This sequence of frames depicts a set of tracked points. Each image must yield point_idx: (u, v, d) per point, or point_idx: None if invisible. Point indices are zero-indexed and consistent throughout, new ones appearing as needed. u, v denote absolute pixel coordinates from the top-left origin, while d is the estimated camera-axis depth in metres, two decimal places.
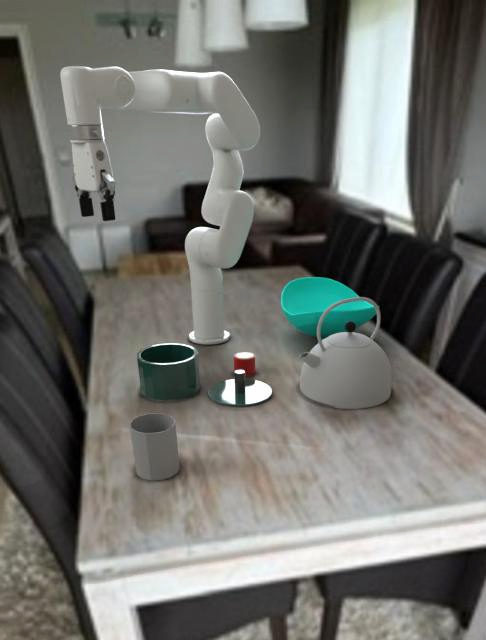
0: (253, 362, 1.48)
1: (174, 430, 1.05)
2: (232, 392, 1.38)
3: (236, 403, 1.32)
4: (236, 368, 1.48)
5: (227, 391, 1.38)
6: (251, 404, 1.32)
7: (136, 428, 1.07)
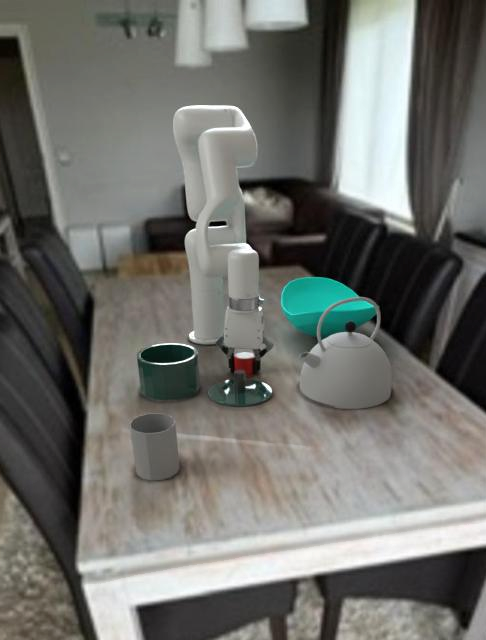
0: (253, 362, 1.48)
1: (174, 430, 1.05)
2: (232, 392, 1.38)
3: (236, 403, 1.32)
4: (236, 368, 1.48)
5: (227, 391, 1.38)
6: (251, 404, 1.32)
7: (136, 428, 1.07)
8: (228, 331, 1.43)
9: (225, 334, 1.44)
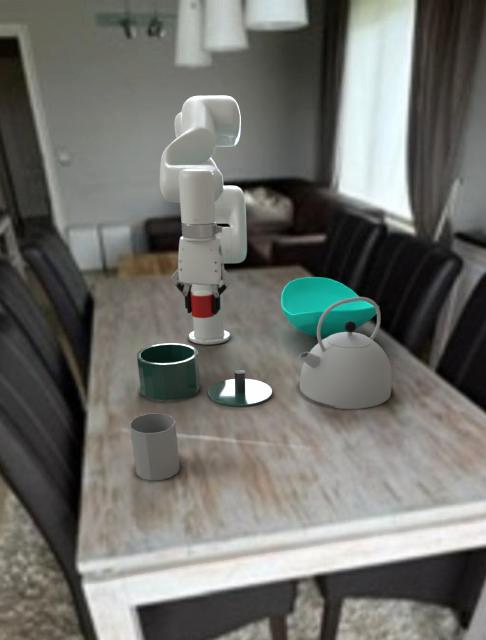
0: None
1: (174, 430, 1.05)
2: (232, 392, 1.38)
3: (236, 403, 1.32)
4: (193, 307, 1.34)
5: (227, 391, 1.38)
6: (251, 404, 1.32)
7: (136, 428, 1.07)
8: (182, 264, 1.29)
9: (179, 268, 1.30)
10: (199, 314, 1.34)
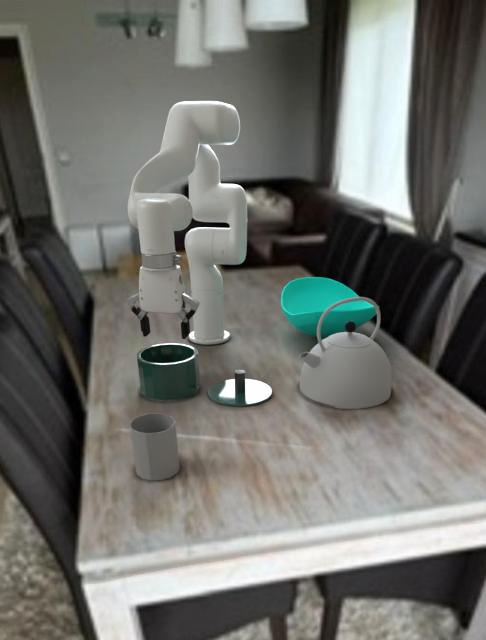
0: None
1: (174, 430, 1.05)
2: (232, 392, 1.38)
3: (236, 403, 1.32)
4: None
5: (227, 391, 1.38)
6: (251, 404, 1.32)
7: (136, 428, 1.07)
8: (143, 293, 1.28)
9: (140, 296, 1.29)
10: None
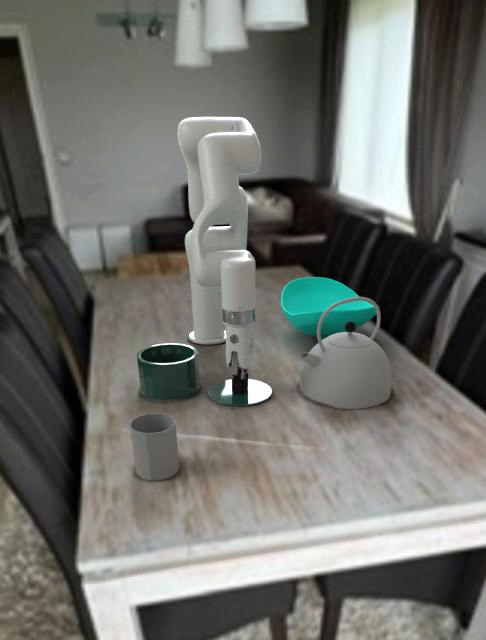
0: None
1: (174, 430, 1.05)
2: None
3: (236, 403, 1.32)
4: None
5: (227, 391, 1.38)
6: (251, 404, 1.32)
7: (136, 428, 1.07)
8: None
9: None
10: None
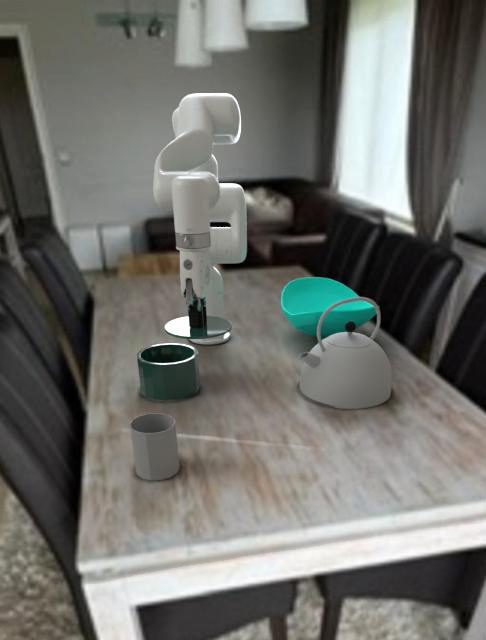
0: None
1: (174, 430, 1.05)
2: None
3: (192, 335, 1.26)
4: None
5: (184, 326, 1.31)
6: (208, 336, 1.26)
7: (136, 428, 1.07)
8: None
9: None
10: None
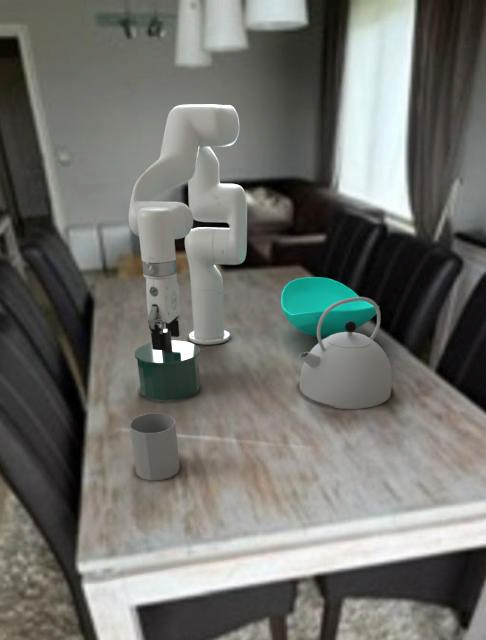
0: None
1: (174, 430, 1.05)
2: (158, 352, 1.36)
3: (159, 361, 1.31)
4: None
5: (154, 351, 1.36)
6: (175, 362, 1.31)
7: (136, 428, 1.07)
8: None
9: None
10: None
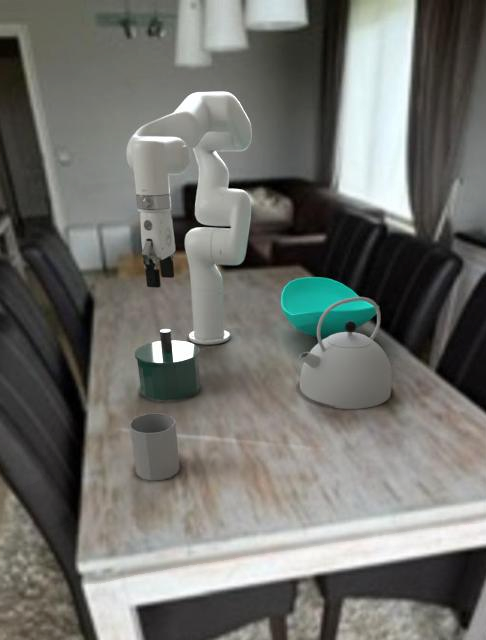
0: None
1: (174, 430, 1.05)
2: (158, 352, 1.36)
3: (159, 361, 1.31)
4: None
5: (154, 351, 1.36)
6: (175, 362, 1.31)
7: (136, 428, 1.07)
8: None
9: None
10: None
